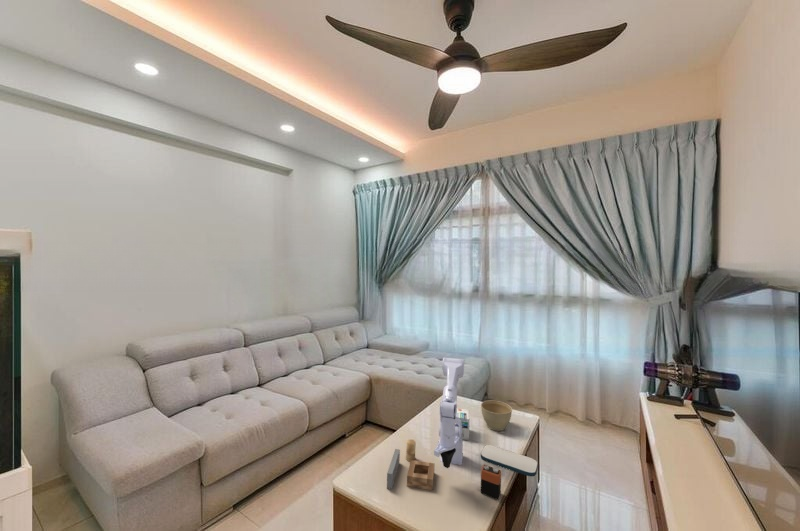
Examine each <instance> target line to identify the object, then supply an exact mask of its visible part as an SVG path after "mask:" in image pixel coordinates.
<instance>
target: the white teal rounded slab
mask: <svg viewBox="0 0 800 531" xmlns="http://www.w3.org/2000/svg"><path fill="white" fill-rule="evenodd" d="M480 458H481V460H483V461H484V462H487V463H489V464H492V465H495V466H498V465H499V466H498V467H500V466H501V468H503V467H504V469H506V468H507V470H509V469H510V470H509V471H512V472H516V473H518V474H521V475H523V476H527V477H535V476H536V475H537V472H538V466H539V463H538V461H537V460H535V459H534V458H532V457H529V456H526V455H523V454H520V453H517V452H513V451H511V450H507V449H504V448H500V447H498V446H495V445H491V444H486V445H484V446H483V448H482V450H481V452H480Z"/></svg>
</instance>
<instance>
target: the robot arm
mask: <svg viewBox="0 0 800 531" xmlns="http://www.w3.org/2000/svg"><path fill="white" fill-rule="evenodd" d="M441 366H442V368H441V370H442V374H443V375H444V376H445V377H446V385H445V386H444V387H443V392H442V397H441V398H442V400H441V402H440V404H439V417H440V418H439V426H438V436H439V437H440V438H439V439H438V440H437V442H438V444H437V446H436V447H435V449H434V450H433V455H434V456H435V457H437V458H439V457H440V458H439V459H440V463H442V465H443V467H444V468H446V469H449V468H450V466H451V464H454V465H460V466H461V465H463V458H464V452H463V450H464V449H463V446H464V445H463V444H464V443H463V442H464V441H463V439H461V434H462V422H461V420H460V419H459V418H458V417H457V408H458V404H457V398H458V397H457V396H458V384H459V379H461V378H463V377H464V372H465V371H464V370H465V360H464V358H456V357H455V358H453V357H445V356H444V357H443V358H442V364H441ZM457 424H458V425H457Z"/></svg>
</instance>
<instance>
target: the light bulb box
mask: <svg viewBox="0 0 800 531" xmlns="http://www.w3.org/2000/svg"><path fill="white" fill-rule="evenodd" d="M457 417H458V418H459V419H460V420H461V422H462V434H461V440H465V441H470V410H469V409H465V408H458V407H457ZM457 425H458V424H457Z"/></svg>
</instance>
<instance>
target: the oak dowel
mask: <svg viewBox="0 0 800 531" xmlns="http://www.w3.org/2000/svg"><path fill="white" fill-rule="evenodd" d="M405 447H406V451H405V452H406V453H405V459H406V461H407V462H409V463H410V461H411V460H415V461H416V440H414V439H408V440H406V446H405Z"/></svg>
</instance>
